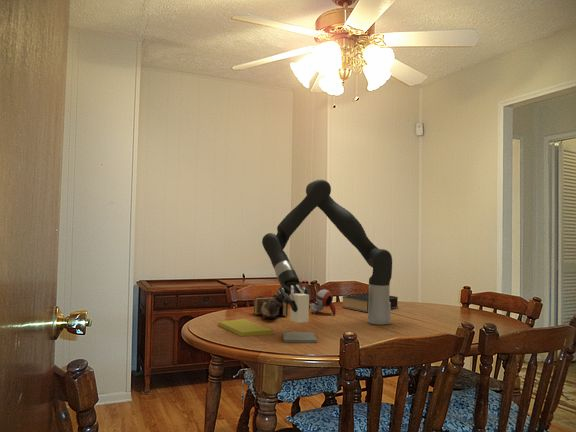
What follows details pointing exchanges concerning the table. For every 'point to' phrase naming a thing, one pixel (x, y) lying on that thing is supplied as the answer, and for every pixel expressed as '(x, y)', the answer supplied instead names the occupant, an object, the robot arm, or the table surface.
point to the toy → (322, 301)
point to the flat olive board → (244, 327)
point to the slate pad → (299, 337)
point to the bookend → (270, 306)
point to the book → (363, 302)
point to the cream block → (300, 308)
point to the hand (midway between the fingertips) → (302, 310)
